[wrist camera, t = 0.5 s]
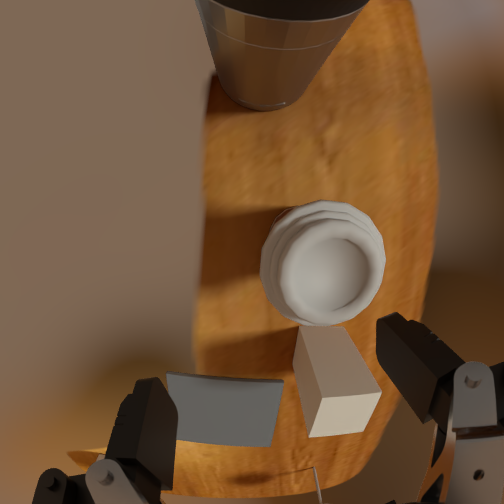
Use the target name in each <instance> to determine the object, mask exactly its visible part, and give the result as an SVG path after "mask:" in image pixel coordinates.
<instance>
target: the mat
mask: <svg viewBox="0 0 504 504" xmlns="http://www.w3.org/2000/svg"><path fill="white" fill-rule="evenodd" d="M166 377H167V384H168V392H169V395H170V397H171V398H172V400H173V402H174V403H175V405H176V408H177V411H178V428H177V438H176V440H183V441H190V442H198V443H206V444H217V445H230V446H250V447H270V446H271V441H272V437H273V432H274V428H275V423H276V419H277V414H278V409H279V405H280V400H281V395H282V390H283V385H284V381H283V380H265V379H242V378H227V377H215V376H204V375H195V374H186V373H179V372H171V371H167V373H166Z"/></svg>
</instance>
